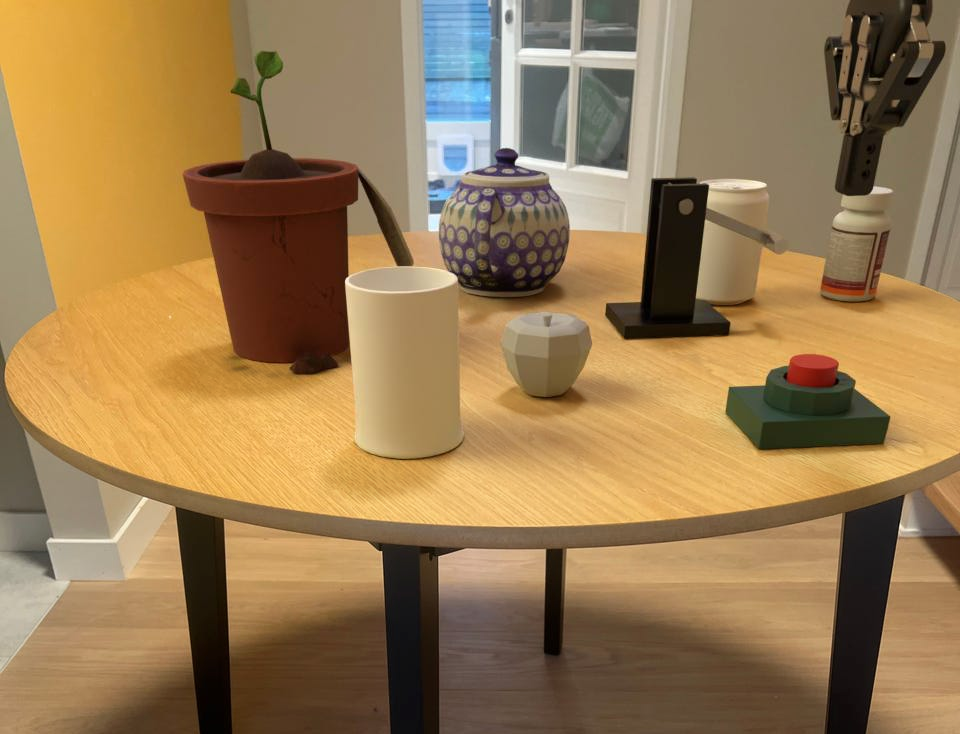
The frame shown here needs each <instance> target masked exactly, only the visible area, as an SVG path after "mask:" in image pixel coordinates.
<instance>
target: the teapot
mask: <svg viewBox="0 0 960 734" xmlns="http://www.w3.org/2000/svg"><path fill="white" fill-rule="evenodd" d="M493 155H494V158H495V160H496V164H494V165H489V166H485V167H481V168H477V169H474V170H469V171H467V172H464V173H463V174H462V175H461V181H460V183H459V185H458V186H457V188H456V189H455V190H454V191H453V193H452V194H451V195H450V196H449V197H447V199H446V201H445V202H444V205H443V207H442V210H441V212H440V217H439V223H438V242H439V249H440V255H441V257H442V259H443V263H444V266H445V267H446V270H447V271H448V272H451V273H453V274H455V275H456V276H457V278H458V285H459V286H460V289H461V291H463V293H467V294H471V295H476V296H483V297H491V298H492V297H493V298H494V297H495V298H519V297H521V298H522V297H529V296H534V295H537V294H539V293H542V292H543V291H544V290H545V288H546V285H548V283H550V282H551V280H553V279H554V278H555V276H557V275H558V273H559V272H560V271H561V269H562V267H563V265H564V263H565V261H566V258H567V253H568V248H569V243H570V229H571V226H570V217H569V213H568V209H567V207H566V205H565V203H564V201H563V199H562V198H561V197H560V195H559V194H558V193H557V192H556V191H555V189H553V186H552V185H551V183H550V174H548V173H547V172H544V171H540V170H535V169H531V168H527V167H524V166H520V165H517V164H516V162H517V160H518V158H519V153H518V152H517V151H516V150H515V149H513V148H510V147H502V148H499V149H497V150H496V151H495V152H494V153H493Z"/></svg>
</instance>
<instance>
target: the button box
mask: <svg viewBox="0 0 960 734" xmlns="http://www.w3.org/2000/svg"><path fill="white" fill-rule="evenodd" d="M788 369H789V365H783V366H779V367H777V368H773V369H770V371H769V372H768V374H767V376H766V378H765V384H764V385H763V384H762V385H741V386H738V385H737V386H729V387H728V389H727V390H728V391H727V399H726V403H725V405H726V406H725V412H724V413H725V414H726V415H727V416H728V417H729V418H730V419H731V421H732V422H733V423H734V424H735V425H736V426H737V427H738V428H739V429H740V430H741V431H742V433H743V434H744V435H745V436H746V438H748V439H749V441H750V442H752V444H753V445H754V446H755V447H756V448H757V449H758V450H771V449H773V450H774V449H793V448H814V447H815V448H816V447H836V446H837V447H838V446H858V445H859V446H860V445H877V444H878V445H879V444H885V442H886V437H887V434H888V429H889V425H890V421H891V415H890V414H888V413H887V412H886V411H884V410H883V409H882V408H880V407H879V406H878V405H877V404H875V403H874V402H873V401H871V400H870V399H869V398H868V397H866V396H865V395H864V394H863V393H861V392H859V390H857V389H856V388H855V387H856V383H857V380H856V379H854V378H853V377H852V376H851V375H849V374H848V373H846V372H844V371H841V370H838V371H837V376H836V380H835V385H834V386H831V387H819V388H815V387H807V386H799V385H796V384H793V383H790V382H787V381H786V380H787V374H788Z"/></svg>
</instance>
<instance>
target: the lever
mask: <svg viewBox="0 0 960 734" xmlns="http://www.w3.org/2000/svg"><path fill="white" fill-rule="evenodd" d="M667 184H671V183H669V182H668V183H667ZM660 202H661V200H660ZM660 202H659V204H658V208H660ZM705 220H708V221H710V222H713V223H715V224H717V225H720V226H722V227H724V228H727V229H729V230H732V231H734V232H736V233H739V234H741V235H744V236H746V237H748V238H751V239H753V240H756V241H757V242H758V243H759V244H761V245H762V247H763V248H766V249H767V250H769V251H771V252H772V253H774V254H776V255H783V254H785V253H786V252H787V250H788V249H789V241H788V239H787V238H785V237H783V236H781V235H779V234H778V233H775V232H774V231H772V230H770V229H768V228H766V227H765V228H762V229H760V230H759V229H757V228H754V227H752V226H750V225H747V224H745V223H742V222H740V221H738V220H735V219H733V218H731V217H728V216H726V215H724V214H721V213H719V212H716V211H714V210H712V209H709V208H706V217H705Z"/></svg>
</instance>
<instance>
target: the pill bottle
mask: <svg viewBox="0 0 960 734" xmlns="http://www.w3.org/2000/svg"><path fill="white" fill-rule="evenodd" d="M893 194H894V190H893V189H892V188H891V189H890V188H888V187H884V186H883V187H882V186H875V185H874V187H873V190H872V192H871V193H870V194H868V195H866V196H846V195H843V194H842V198H841V202H840V206H841V207H842V208H844V209H843V211H840V212H839V213H837V214H836V216H835V217H834V218H833V220H832V225H831V229H830V234H829V241H828V245H827V251H826V256H825V262H824V267H823V272H822V277H821V284H820V294H821V295H822V296H823V297H825V298H827V299H829V300H833V301H838V302H839V301H840V302H851V303H854V302H855V303H857V302H867V301H870V300H872V299H873V298H875V296H876V295H877V290H878V286H879V282H880V277H881V274H882V268H883V263H884V260H885V254H886V249H887V245H888V241H889V235H890V231H891V226H892V220H891V217H890V216H889V215H888V214H887V213H886V212H885V211H886V210H889V209H891V204H892V199H893V196H894V195H893Z"/></svg>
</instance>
